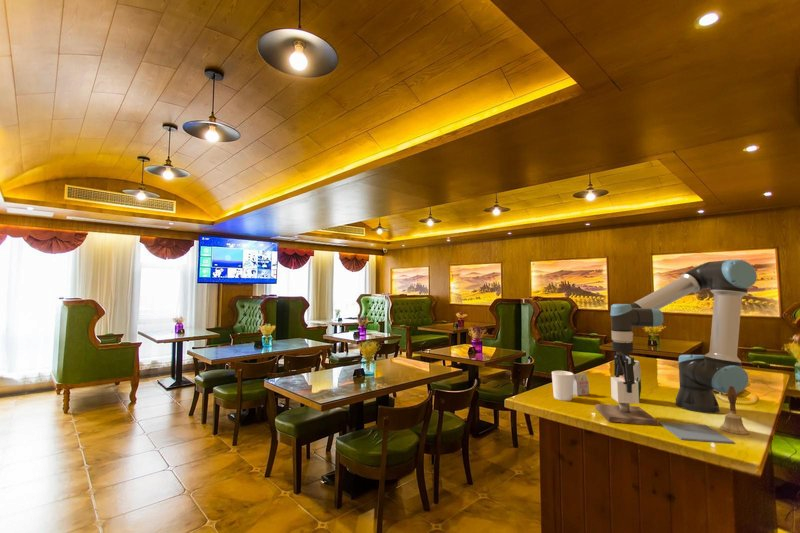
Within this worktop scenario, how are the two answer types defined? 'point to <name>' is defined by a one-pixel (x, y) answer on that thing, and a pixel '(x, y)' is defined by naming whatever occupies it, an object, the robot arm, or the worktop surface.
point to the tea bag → (580, 385)
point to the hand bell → (733, 416)
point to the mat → (695, 432)
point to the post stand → (626, 414)
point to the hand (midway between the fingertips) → (624, 397)
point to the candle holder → (562, 385)
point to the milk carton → (637, 374)
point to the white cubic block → (618, 390)
